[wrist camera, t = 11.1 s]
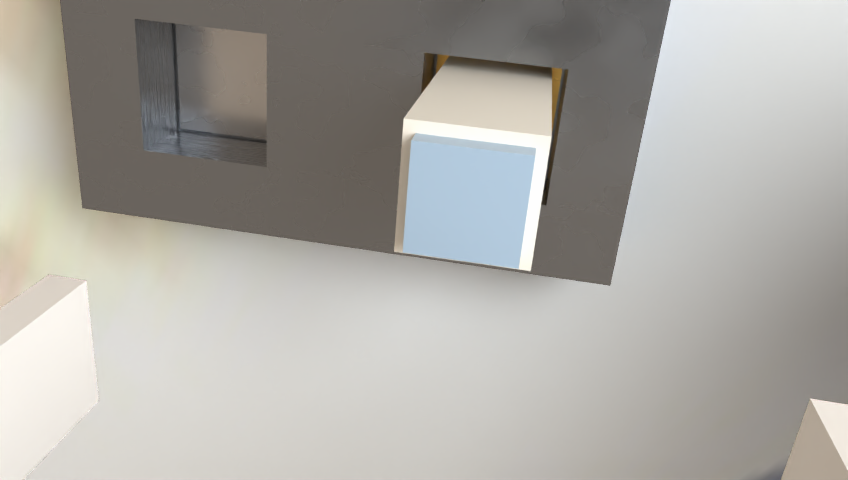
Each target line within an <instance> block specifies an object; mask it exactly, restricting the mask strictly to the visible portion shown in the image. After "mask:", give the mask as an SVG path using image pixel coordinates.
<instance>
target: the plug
mask: <svg viewBox="0 0 848 480" xmlns="http://www.w3.org/2000/svg"><path fill="white" fill-rule="evenodd" d="M551 138H552V68H551V67H543V66H534V65H526V64H517V63H509V62H500V61H491V60H483V59H474V58H466V57H457V56H449V57H448V59H447V60H446V61H445V63H444V64H443V65H442V67H441V68H440V69H439V71H438V72H437V74H436V75H435V76H434V78H433V79H432V80H431V82H430V83H429V84H428V86H427V87H426V89H425V90H424V91H423V93H422V94H421V95H420V97H419V98H418V100H417V101H416V102H415V104H414V105H413V106H412V108H411V109H410V110H409V112H408V113H407V115H406V116H405V117H404V120H403V134H402V148H401V162H400V176H399V190H398V204H397V218H396V232H395V246H394V252H399V253H406V254H413V255H420V256H427V257H435V258H442V259H449V260H456V261H463V262H470V263H477V264H484V265H491V266H498V267H505V268H512V269H519V270H526V271H531V266H532V260H533V253H534V247H535V240H536V234H537V228H538V221H539V215H540V208H541V202H542V195H543V189H544V183H545V176H546V170H547V163H548V157H549V150H550V144H551Z"/></svg>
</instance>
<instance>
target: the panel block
mask: <svg viewBox="0 0 848 480" xmlns="http://www.w3.org/2000/svg"><path fill="white" fill-rule="evenodd" d="M670 1H671V0H60V3H61V12H62V22H63V31H64V40H65V50H66V59H67V68H68V77H69V87H70V96H71V105H72V115H73V124H74V133H75V142H76V152H77V161H78V170H79V180H80V189H81V198H82V207H83V208H86V209H93V210H99V211H106V212H113V213H120V214H127V215H133V216H140V217H147V218H154V219H161V220H167V221H174V222H181V223H188V224H195V225H201V226H208V227H215V228H222V229H229V230H236V231H242V232H249V233H256V234H263V235H270V236H276V237H283V238H290V239H297V240H304V241H310V242H317V243H324V244H331V245H338V246H344V247H351V248H358V249H365V250H372V251H379V252H385V253H392V254H399V255H406V256H413V257H419V258H426V259H433V260H440V261H447V262H453V263H460V264H467V265H474V266H481V267H487V268H494V269H501V270H508V271H515V272H521V273H528V274H535V275H542V276H549V277H556V278H562V279H569V280H576V281H583V282H590V283H596V284H603V285H610V284H611V279H612V274H613V270H614V265H615V260H616V255H617V251H618V246H619V241H620V237H621V232H622V227H623V222H624V218H625V213H626V208H627V204H628V199H629V194H630V190H631V185H632V180H633V175H634V171H635V166H636V161H637V157H638V152H639V147H640V142H641V138H642V133H643V128H644V124H645V119H646V114H647V110H648V105H649V100H650V95H651V91H652V86H653V81H654V77H655V72H656V67H657V62H658V58H659V53H660V48H661V44H662V39H663V34H664V30H665V25H666V20H667V15H668V11H669V6H670ZM449 56H457V57H466V58H474V59H483V60H491V61H500V62H509V63H517V64H526V65H534V66H543V67H551V68H552V138H551V144H550V150H549V157H548V163H547V170H546V176H545V183H544V189H543V195H542V202H541V208H540V215H539V221H538V228H537V234H536V240H535V247H534V253H533V260H532V266H531V271H526V270H519V269H512V268H505V267H498V266H491V265H484V264H477V263H470V262H463V261H456V260H449V259H442V258H435V257H427V256H420V255H413V254H406V253H399V252H394V246H395V232H396V218H397V204H398V190H399V176H400V162H401V148H402V134H403V120H404V117H405V116H406V115H407V113H408V112H409V110H410V109H411V108H412V106H413V105H414V104H415V102H416V101H417V100H418V98H419V97H420V95H421V94H422V93H423V91H424V90H425V89H426V87H427V86H428V84H429V83H430V82H431V80H432V79H433V78H434V76H435V75H436V74H437V72H438V71H439V69H440V68H441V67H442V65H443V64H444V63H445V61H446V60H447V59H448V57H449Z"/></svg>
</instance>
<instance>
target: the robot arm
mask: <svg viewBox="0 0 848 480" xmlns="http://www.w3.org/2000/svg"><path fill="white" fill-rule="evenodd" d="M98 401H99V394H98V385H97V375H96V366H95V357H94V347H93V338H92V329H91V319H90V310H89V301H88V291H87V282H86V280H80V279H74V278H68V277H62V276H56V275H47V276H46V277H44V278H43V279H42V280H40V281H39V282H37V283H36V284H34V285H33V286H31V287H30V288H29V289H27V290H26V291H24V292H23V293H21V294H20V295H19V296H17V297H16V298H14V299H13V300H11V301H10V302H8V303H7V304H6V305H4V306H3V307H1V308H0V480H24V479H25V478H26V477H27V476H28V475H29V474H30V472H31V471H32V470H33V469H34V468H35V467H36V466H37V465H38V464H39V463H40V462H41V461H42V460H43V459H44V458H45V457H46V456H47V455H48V454H49V453H50V452H51V451H52V449H53V448H54V447H55V446H56V445H57V444H58V443H59V442H60V441H61V440H62V439H63V438H64V437H65V436H66V435H67V434H68V433H69V432H70V431H71V430H72V429H73V428H74V426H75V425H76V424H77V423H78V422H79V421H80V420H81V419H82V418H83V417H84V416H85V415H86V414H87V413H88V412H89V411H90V410H91V409H92V408H93V407H94V406H95V405H96V403H97V402H98ZM781 480H848V405H847V404H841V403H835V402H829V401H823V400H817V399H811V398H810V400H809V403H808V406H807V408H806V411H805V414H804V417H803V419H802V422H801V425H800V428H799V431H798V433H797V436H796V439H795V442H794V445H793V447H792V450H791V453H790V456H789V459H788V461H787V464H786V467H785V470H784V473H783V475H782V478H781Z"/></svg>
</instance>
